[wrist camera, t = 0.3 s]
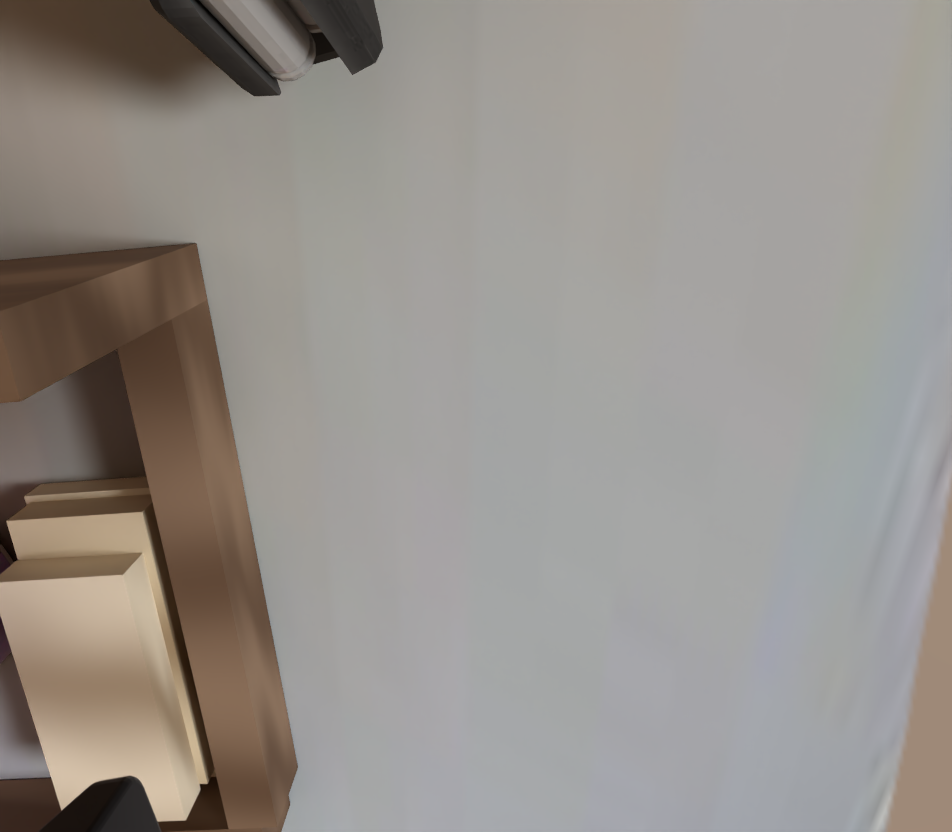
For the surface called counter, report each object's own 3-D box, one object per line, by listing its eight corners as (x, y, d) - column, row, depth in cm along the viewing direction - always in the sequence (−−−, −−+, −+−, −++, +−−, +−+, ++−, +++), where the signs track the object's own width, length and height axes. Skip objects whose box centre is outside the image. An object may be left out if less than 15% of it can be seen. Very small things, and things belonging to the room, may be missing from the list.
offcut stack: (239, 749, 28) (199, 836, 24) (122, 755, 28) (68, 841, 24) (176, 470, 24) (121, 524, 21) (46, 479, 25) (-30, 534, 21)
